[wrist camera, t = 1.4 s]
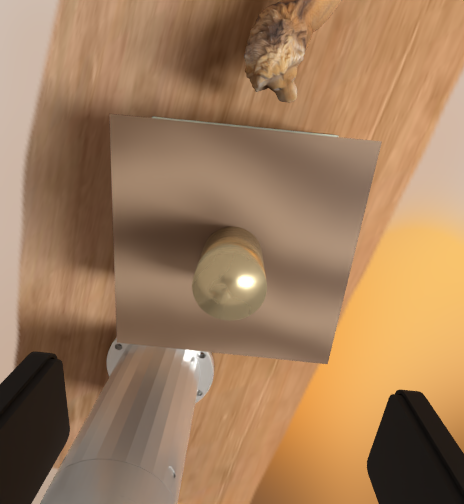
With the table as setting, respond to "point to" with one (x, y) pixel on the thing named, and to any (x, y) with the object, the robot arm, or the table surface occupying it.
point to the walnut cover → (234, 235)
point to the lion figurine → (283, 43)
